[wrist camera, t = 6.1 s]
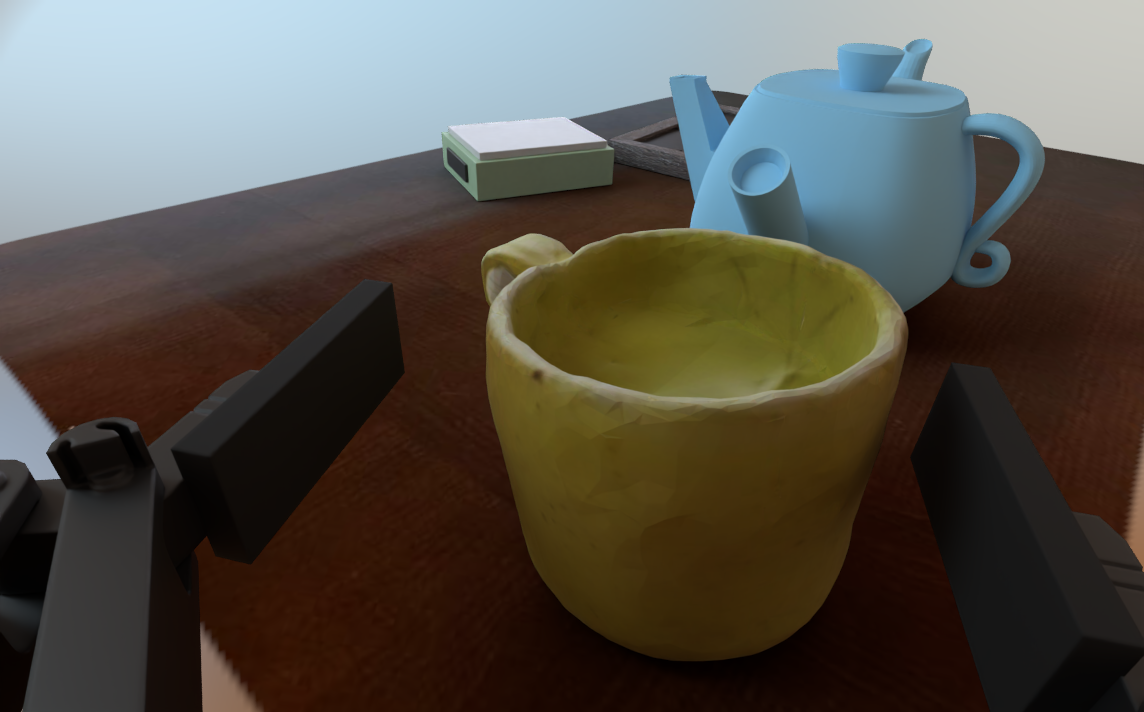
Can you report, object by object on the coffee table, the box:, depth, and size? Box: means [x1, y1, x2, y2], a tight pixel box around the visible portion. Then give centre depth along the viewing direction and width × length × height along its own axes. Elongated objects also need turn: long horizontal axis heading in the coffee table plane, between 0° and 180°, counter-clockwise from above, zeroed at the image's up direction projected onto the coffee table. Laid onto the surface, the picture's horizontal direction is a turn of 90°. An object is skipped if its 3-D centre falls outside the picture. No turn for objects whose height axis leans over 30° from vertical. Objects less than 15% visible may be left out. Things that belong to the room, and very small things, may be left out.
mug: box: [482, 228, 908, 661], centre depth 18 cm, size 12×10×10 cm
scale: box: [442, 117, 614, 201], centre depth 45 cm, size 10×8×3 cm
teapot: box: [670, 39, 1045, 313], centre depth 29 cm, size 15×14×11 cm
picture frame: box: [608, 104, 740, 180], centre depth 52 cm, size 13×2×18 cm
